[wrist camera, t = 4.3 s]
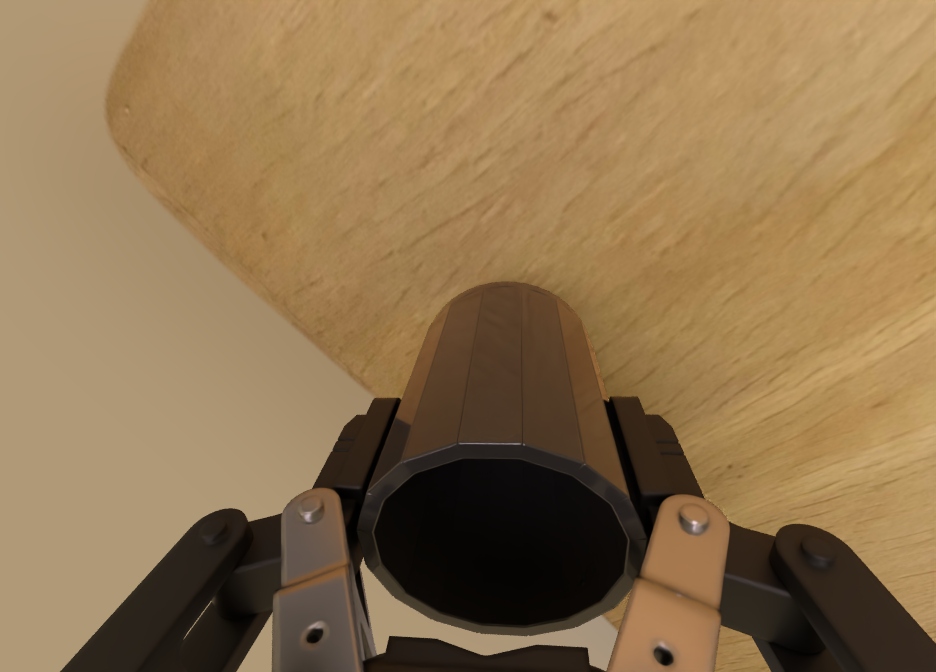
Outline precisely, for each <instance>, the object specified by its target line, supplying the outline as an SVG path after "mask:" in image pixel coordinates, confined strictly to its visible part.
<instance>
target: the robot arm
mask: <svg viewBox="0 0 936 672" xmlns="http://www.w3.org/2000/svg"><path fill="white" fill-rule="evenodd" d="M400 403H401V399H400V398H374V400H373V401H372V403H371V405H370V407H369V410H368V412H367V414H366V415H356V416H355V417H354V418H353V419H352V420H351V421H350V422H349V423H347V424H346V425H345V426H344V428H343V430H342V432H341V434H340V436H339V438H338V441H337V442H336V443H335V445H334V448H333V451H332V452H331V453H330V455H329V457H328V459H327V461H326V463H325V465H324V467H323V468H322V470H321V472H320V475H319V476H318V478H317V480H316V482H315V484H314V486H313V488H312V489H310V490H308V491H305V492H303V493H301V494H299V495H298V496H296V497H295V498H294V499H292V500H291V501H290V502H289V503H288V504H287V506H286V507H285V509H284V510H283V513H281V514H278V515H275V516H270V517H267V518H263V519H258V520H254V521H251V522H248V520H247V518H246V516H245V514H244V513H243V512H242V511H240V510H238V509H232V508H229V509H222V510H219V511H215V512H213V513H211V514H209V515H207V516H205V517H203V518H202V519H200V520H199V521H198V522H196V523H195V524H194V525H193V526H192V527H191V528H190V529H189V530H188V531H187V532H186V533H185V535H184V536H183V537H182V538H181V539H180V540H179V541H178V542H177V543H176V545H175V546H174V547H173V548H172V549H171V550H170V551H169V552H168V553H167V554H166V556H165V557H164V558H163V559H162V560H161V561H160V562H159V563H158V564H157V566H156V567H155V568H154V569H153V570H152V571H151V572H150V573H149V574H148V575H147V576H146V578H145V579H144V580H143V581H142V582H141V583H140V584H139V585H138V586H137V588H136V589H135V590H134V591H133V592H132V593H131V594H130V595H129V596H128V597H127V599H126V600H125V601H124V602H123V603H122V604H121V605H120V606H119V608H117V610H116V611H115V612H114V613H113V614H112V615H111V616H110V617H109V618H108V619H107V621H106V622H105V623H104V624H103V625H102V626H101V627H100V628H99V629H98V631H97V632H96V633H95V634H94V635H93V636H92V637H91V638H90V639H89V640H88V642H87V643H86V644H85V645H84V646H83V647H82V648H81V649H80V650H79V652H78V653H77V654H76V655H75V656H74V657H73V658H72V659H71V661H70V662H69V663H68V664H67V665H66V666H65V667H64V668H63V669H62V670H61V671H60V672H236V671H237V670H238V668H239V666H240V665H241V663H242V661H243V660H244V658H245V656H246V655H247V653H248V651H249V650H250V648H251V646H252V645H253V643H254V642H255V640H256V638H257V637H258V635H259V633H260V632H261V630H262V629H263V627H264V625H265V623H266V622H267V620H268V618H269V617H270V615H271V614H272V612H273V625H272V626H273V627H272V629H273V630H272V672H714V671H715V664H716V656H717V648H718V641H719V633H720V625H722V626H725V627H728V628H731V629H733V630H736V631H739V632H742V633H745V634H747V635H750V636H752V638H753V640H754V641H755V643H756V645H757V647H758V648H759V650H760V652H761V654H762V656H763V657H764V659H765V661H766V663H767V664H768V666H769V668H770V670H771V672H936V643H935V642H934V641H933V640H932V639H931V638H930V637H929V636H928V634H927V633H926V632H925V631H924V630H923V629H922V628H921V627H920V626H919V624H918V623H917V622H916V621H915V620H914V619H913V618H912V617H911V615H910V614H909V613H908V612H907V611H906V610H905V609H904V608H903V606H902V605H901V604H900V603H899V602H898V601H897V600H896V599H895V597H894V596H893V595H892V594H891V593H890V592H889V591H888V590H887V589H886V587H885V586H884V585H883V584H882V583H881V582H880V581H879V580H878V578H877V577H876V576H875V575H874V574H873V573H872V572H871V571H870V569H869V568H868V567H867V566H866V565H865V564H864V563H863V562H862V560H861V559H860V558H859V557H858V556H857V555H856V554H855V553H854V552H853V550H852V549H851V548H850V547H849V546H848V545H847V544H845V543H844V542H843V541H842V540H840V539H839V538H837V537H836V536H834V535H832V534H831V533H829V532H827V531H824V530H822V529H820V528H817V527H814V526H810V525H805V524H790V525H786V526H784V527H782V528H781V529H779V531H778V532H777V534H776V537H775V536H771V535H768V534H764V533H760V532H757V531H753V530H749V529H746V528H743V527H740V526H737V525H735V524H733V523H731V522H729V521H728V520H727V518H726V516H725V515H724V514H723V512H722V511H721V510H720V509H719V508H717V507H716V506H715V505H714V504H712V503H711V502H709V501H707V500H705V498H704V496H703V494H702V491H701V489H700V487H699V485H698V483H697V481H696V478H695V476H694V474H693V472H692V470H691V467H690V465H689V463H688V461H687V459H686V456H685V455H684V452H683V450H682V448H681V445H680V444H679V443H678V439H677V437H676V435H675V432H674V430H673V428H672V426H671V425H669V424H668V423H667V422H666V421H665V420H664V419H663V418H662V417H661V416H659V415H645V413H644V410H643V408H642V405H641V403H640V400H639V398H638V397H610V398H609V405H610V408H611V411H612V415H613V418H614V422H615V425H616V429H617V432H618V436H619V439H620V442H621V446H622V449H623V453H624V456H625V460H626V463H627V467H628V470H629V473H630V477H631V480H632V484H633V487H634V491H635V494H636V498H637V501H638V504H639V508H640V510H641V514H642V517H643V520H644V524H645V527H646V531H647V534H648V543H647V549H646V554H645V558H644V561H643V564H642V568H641V571H640V574H639V575H637V576H636V578H635V581H634V584H633V587H632V590H631V593H630V596H629V600H628V603H627V606H626V609H625V613H624V616H623V619H622V622H621V626H620V629H619V632H618V635H617V638H616V642H615V645H614V648H613V651H612V655H611V658H610V661H609V664H608V668H607V671H604V670H601V669H599V668H597V667H594V666H591V665H590V664H589V656H588V648H584V647H566V646H550V645H533V646H529V647H525V648H520V649H516V650H511V651H507V652H502V653H498V654H493V655H488V656H484V655H480V654H477V653H474V652H471V651H468V650H466V649H463V648H460V647H458V646H455V645H452V644H449V643H447V642H444V641H441V640H438V639H432V638H413V637H398V636H389V640H388V644H387V648H386V653H383V654H379V655H377V653H376V649H375V644H374V640H373V634H372V629H371V623H370V618H369V612H368V606H367V600H366V595H365V589H364V583H363V578H362V572H361V569H360V565H361V562H362V559H363V554H362V550H361V547H360V543H359V539H358V536H357V532H356V525H357V522H358V518H359V515H360V512H361V509H362V505H363V502H364V499H365V495H366V492H367V490H368V487H369V484H370V482H371V479H372V476H373V474H374V471H375V468H376V466H377V463H378V461H379V458H380V455H381V453H382V450H383V447H384V445H385V442H386V439H387V437H388V434H389V432H390V429H391V426H392V424H393V421H394V418H395V416H396V413H397V410H398V408H399V405H400ZM210 601H212V602H211V603H210ZM209 603H210V605H209V606H208V607H207V605H208V604H209ZM206 607H207V609H206V610H205V612H204V613H203V614H202V615H201V613H202V612H203V611H204V609H205V608H206ZM200 615H201V617H200V618H199V616H200ZM198 618H199V620H198V621H197V622H196V620H197V619H198ZM195 622H196V624H195V625H194V626H193V624H194V623H195ZM192 626H193V628H192V629H191V630H190V628H191V627H192ZM189 630H190V632H189V633H188V635H187V636H186V634H187V632H188V631H189ZM185 636H186V637H185ZM184 637H185V639H184ZM183 639H184V640H183Z"/></svg>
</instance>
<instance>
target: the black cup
mask: <svg viewBox="0 0 936 672" xmlns="http://www.w3.org/2000/svg"><path fill="white" fill-rule="evenodd" d="M356 532H357V536H358V539H359V543H360V547H361V550H362V554H363V557H364V561H365V564H366V565H367V568H368V569H369V570H370V571H371V572H372V573H373V574H374V576H375V577H376V578H377V579H378V580H379V581H380V582H381V584H382V585H384V587H385V588H386V589H387V590H388V591H389V593H390V594H391V595H392V596H394V597H395V598H396V599H398V600H399V601H401V602H403V603H404V604H406V605H408V606H409V607H411V608H413V609H415V610H416V611H418V612H420V613H421V614H423V615H425V616H427V617H428V618H430V619H433V620H435V621H438V622H441V623H444V624H448V625H451V626H455V627H459V628H462V629H465V630H469V631H472V632H476V633H481V634H497V635H515V636H528V635H529V636H533V635H538V634H543V633H549V632H555V631H560V630H566V629H571V628H575V627H578V626H580V625H582V624H584V623H586V622H588V621H590V620H592V619H594V618H596V617H598V616H600V615H602V614H604V613H606V612H608V611H610V610H612V609H614V608H615V607H616V606H618V604H619V603H620V602H621V601H622V600H623V599H624V597H625V596H626V595H627V594H628V593H629V592H630V590H631V589H632V587H633V584H634V581H635V578H636V576H637V575H639V574H640V571H641V568H642V564H643V561H644V558H645V554H646V549H647V543H648V534H647V531H646V527H645V524H644V520H643V517H642V514H641V510H640V508H639V504H638V501H637V498H636V494H635V491H634V487H633V484H632V480H631V477H630V473H629V470H628V467H627V463H626V460H625V456H624V453H623V449H622V446H621V442H620V439H619V436H618V432H617V429H616V425H615V422H614V418H613V415H612V411H611V408H610V405H609V401H608V397H607V394H606V390H605V387H604V383H603V380H602V377H601V373H600V370H599V366H598V363H597V359H596V356H595V353H594V349H593V347H592V344H591V342H590V340H589V337H588V334H587V331H586V329H585V327H584V325H583V323H582V321H581V319H580V318H579V317H578V315H577V314H576V313H575V311H574V310H573V309H572V308H571V307H570V306H569V305H568V304H567V303H565V302H564V301H563V300H562V299H560V298H559V297H557V296H556V295H554V294H552V293H551V292H549V291H547V290H544V289H542V288H539V287H537V286H533V285H529V284H525V283H518V282H495V283H488V284H484V285H480V286H477V287H474V288H471V289H469V290H467V291H465V292H463V293H461V294H459V295H458V296H456V297H455V298H453V299H452V300H451V301H449V302H448V303H447V304H446V305H445V306H444V307H443V308H442V309H441V310H440V312H439V313H438V314H437V315H436V317H435V319H434V320H433V322H432V323H431V325H430V326H429V329H428V331H427V334H426V337H425V339H424V342H423V345H422V347H421V350H420V352H419V355H418V358H417V360H416V363H415V366H414V368H413V371H412V374H411V376H410V379H409V381H408V384H407V387H406V389H405V392H404V395H403V397H402V400H401V403H400V405H399V408H398V410H397V413H396V416H395V418H394V421H393V424H392V426H391V429H390V432H389V434H388V437H387V439H386V442H385V445H384V447H383V450H382V453H381V455H380V458H379V461H378V463H377V466H376V468H375V471H374V474H373V476H372V479H371V482H370V484H369V487H368V490H367V492H366V495H365V499H364V502H363V505H362V509H361V512H360V515H359V518H358V522H357V525H356Z"/></svg>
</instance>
